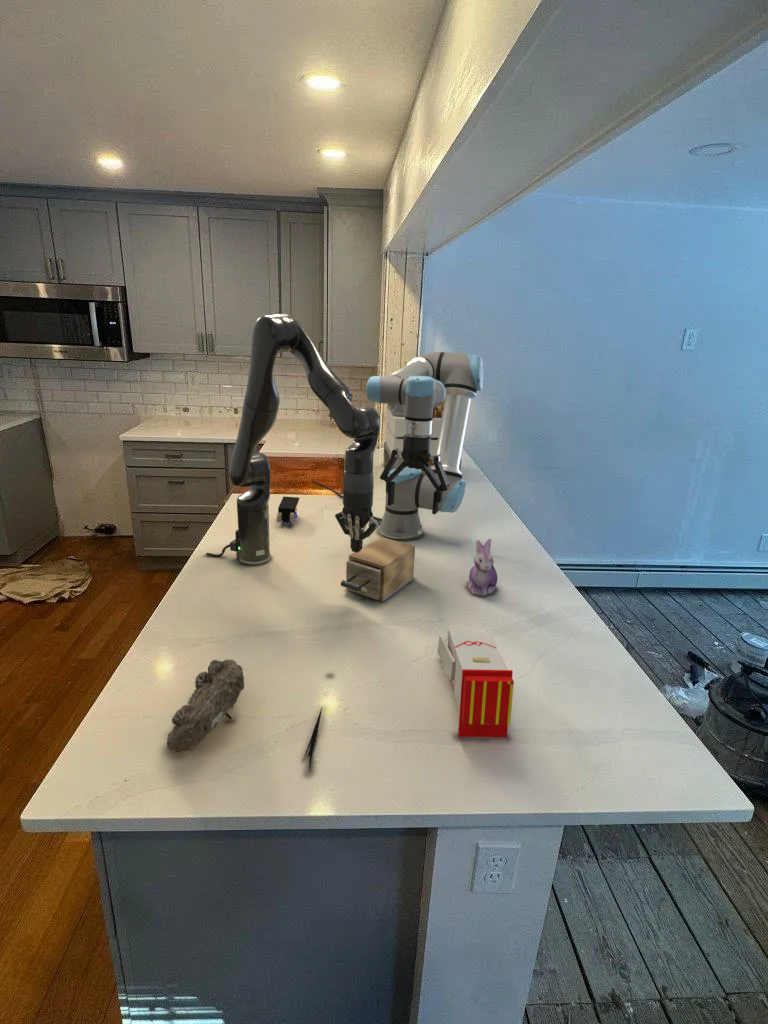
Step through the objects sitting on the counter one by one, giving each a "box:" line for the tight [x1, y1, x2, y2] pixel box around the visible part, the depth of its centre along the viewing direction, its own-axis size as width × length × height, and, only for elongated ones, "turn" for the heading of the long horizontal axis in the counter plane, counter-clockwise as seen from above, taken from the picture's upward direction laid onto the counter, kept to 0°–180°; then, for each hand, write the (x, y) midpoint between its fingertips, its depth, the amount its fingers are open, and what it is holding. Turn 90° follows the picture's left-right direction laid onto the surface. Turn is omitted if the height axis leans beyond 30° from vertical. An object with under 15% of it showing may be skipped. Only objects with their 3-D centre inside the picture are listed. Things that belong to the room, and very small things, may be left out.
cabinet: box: [348, 536, 416, 602], centre depth 161 cm, size 17×12×10 cm
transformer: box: [383, 399, 463, 473], centre depth 268 cm, size 34×33×41 cm
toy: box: [437, 628, 515, 738], centre depth 117 cm, size 12×13×30 cm
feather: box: [301, 673, 332, 771], centre depth 108 cm, size 2×28×2 cm
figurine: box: [467, 538, 498, 596], centre depth 160 cm, size 9×10×15 cm
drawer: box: [340, 559, 381, 601], centre depth 157 cm, size 22×10×8 cm, turn 148°
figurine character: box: [276, 495, 300, 527], centre depth 205 cm, size 7×8×15 cm
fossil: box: [166, 658, 245, 754], centre depth 106 cm, size 22×10×15 cm
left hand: (356, 551), depth 147 cm, fingers closed
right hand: (412, 508), depth 161 cm, fingers open, 13 cm apart
